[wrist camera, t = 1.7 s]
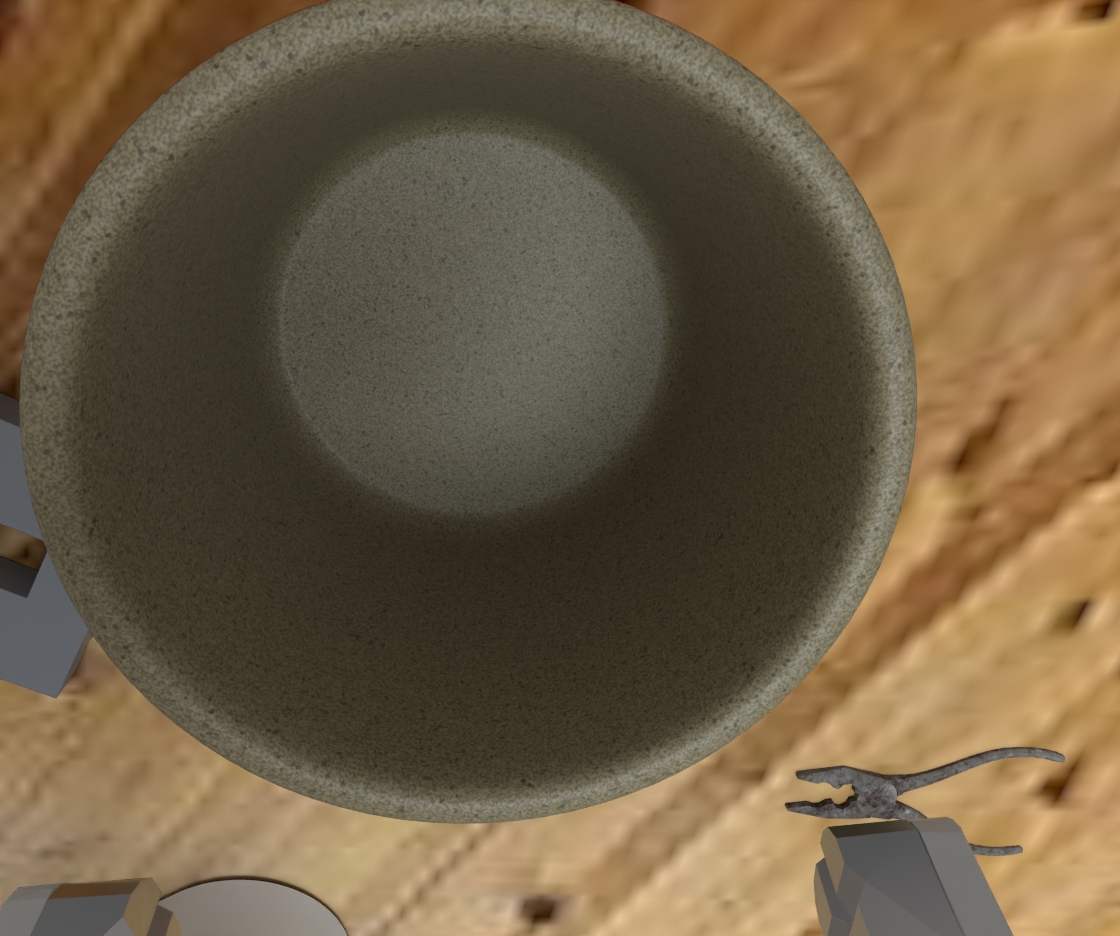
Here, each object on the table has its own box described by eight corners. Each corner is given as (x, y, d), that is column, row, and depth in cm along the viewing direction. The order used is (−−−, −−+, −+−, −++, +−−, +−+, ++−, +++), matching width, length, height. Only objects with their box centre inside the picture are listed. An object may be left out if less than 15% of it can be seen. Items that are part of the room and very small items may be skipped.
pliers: (1045, 853, 62) (780, 884, 60) (1037, 844, 63) (776, 874, 61) (1071, 745, 59) (791, 775, 57) (1063, 737, 60) (786, 766, 57)
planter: (160, 373, 43) (-138, 617, 21) (394, -49, 38) (316, -303, 16) (534, 579, 50) (598, 924, 28) (778, 246, 44) (1092, 353, 23)
